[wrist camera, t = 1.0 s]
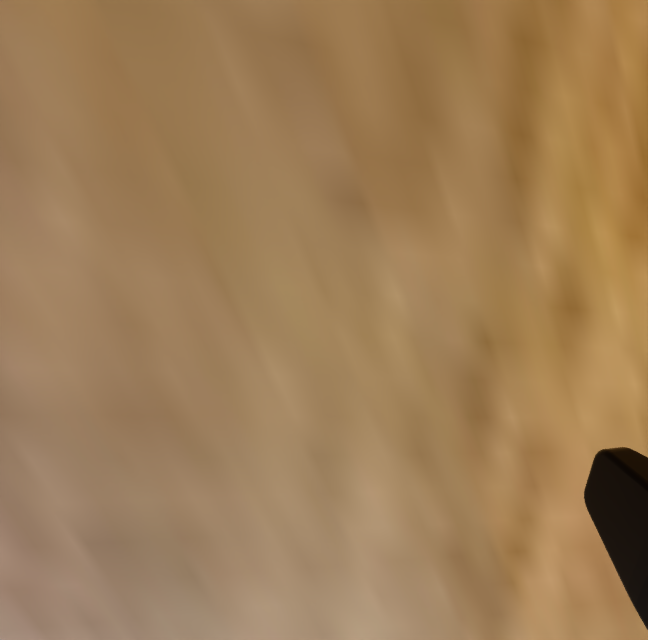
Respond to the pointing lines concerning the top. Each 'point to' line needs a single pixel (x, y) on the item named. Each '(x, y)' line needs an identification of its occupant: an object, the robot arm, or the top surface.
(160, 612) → the top surface
